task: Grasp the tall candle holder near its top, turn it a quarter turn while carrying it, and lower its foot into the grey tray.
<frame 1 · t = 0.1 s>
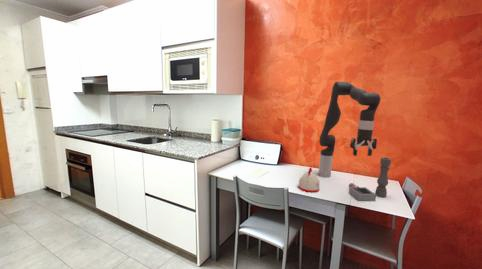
hand: (361, 155, 130), 29 cm above the table, fingers open, 8 cm apart
candle holder: (380, 195, 145), on the table
grey tray: (361, 196, 143), on the table
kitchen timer: (308, 188, 154), on the table
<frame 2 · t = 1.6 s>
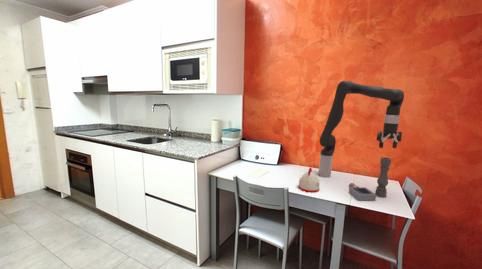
hand: (387, 147, 140), 32 cm above the table, fingers open, 8 cm apart
nothing on the table moved.
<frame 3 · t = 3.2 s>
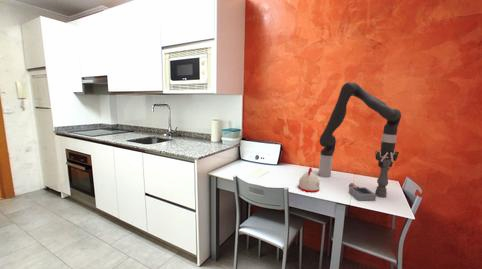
hand: (384, 166, 142), 20 cm above the table, fingers closed on candle holder, 5 cm apart
candle holder: (380, 195, 145), on the table, touching gripper
everything else where it was.
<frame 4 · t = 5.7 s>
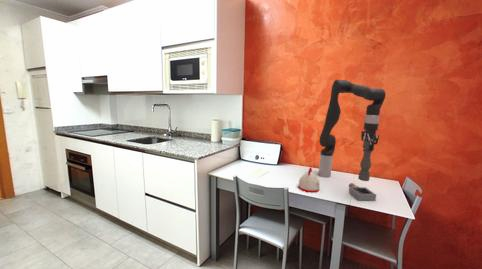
hand: (367, 149, 137), 31 cm above the table, fingers closed on candle holder, 5 cm apart
candle holder: (363, 179, 141), point 12 cm above the table, touching gripper
everything else where it was.
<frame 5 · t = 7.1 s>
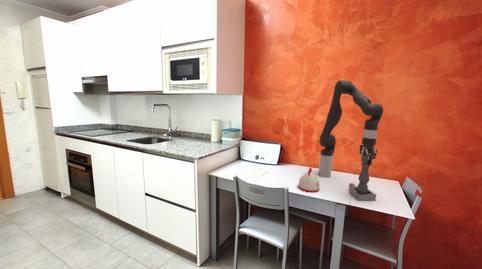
hand: (365, 163, 139), 22 cm above the table, fingers closed on candle holder, 5 cm apart
candle holder: (361, 192, 142), point 3 cm above the table, touching gripper
everything else where it was.
when the fingers open (21 cm above the table, at t = 8.3 s): candle holder drops 2 cm, resting in grey tray.
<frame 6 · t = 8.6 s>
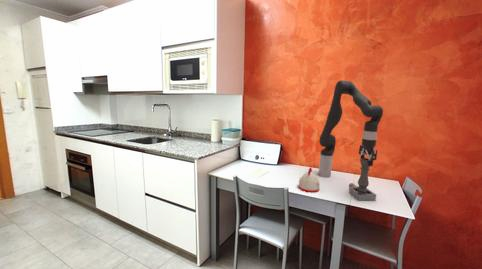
hand: (366, 163, 139), 22 cm above the table, fingers open, 8 cm apart
candle holder: (361, 197, 143), resting in grey tray
everything else where it was.
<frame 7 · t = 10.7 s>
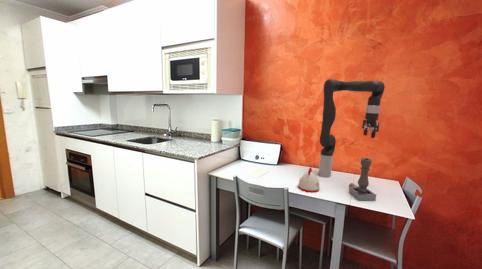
hand: (368, 136, 148), 37 cm above the table, fingers open, 8 cm apart
nothing on the table moved.
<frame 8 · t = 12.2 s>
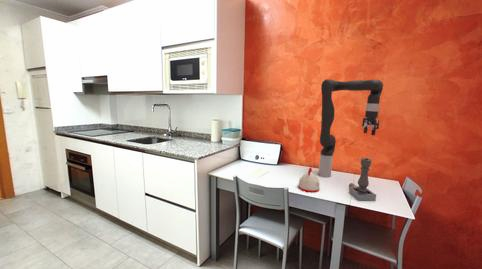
hand: (368, 134, 152), 38 cm above the table, fingers open, 8 cm apart
nothing on the table moved.
at the end: candle holder 0.1 cm off-centre on the grey tray, point 0.0 cm above the grey tray's base; candle holder tilted 0°; the gripper is holding nothing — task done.
